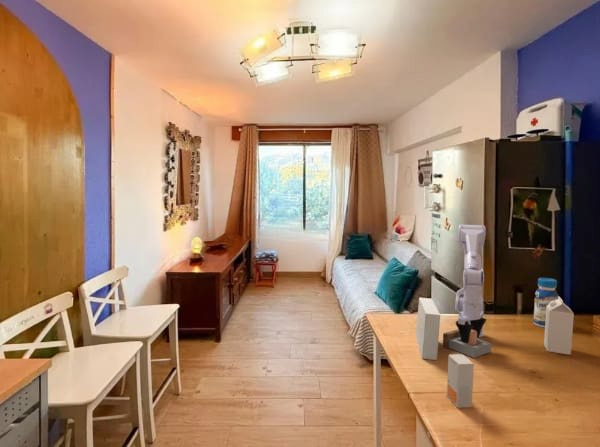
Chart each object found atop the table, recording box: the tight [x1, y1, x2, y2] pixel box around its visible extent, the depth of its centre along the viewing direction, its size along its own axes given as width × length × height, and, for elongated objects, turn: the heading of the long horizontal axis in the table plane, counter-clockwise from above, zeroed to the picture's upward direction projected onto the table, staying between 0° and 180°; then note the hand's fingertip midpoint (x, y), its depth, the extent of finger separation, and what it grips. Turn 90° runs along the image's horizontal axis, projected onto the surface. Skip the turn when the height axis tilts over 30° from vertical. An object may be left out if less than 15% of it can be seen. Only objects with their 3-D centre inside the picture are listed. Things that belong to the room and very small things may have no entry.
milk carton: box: [543, 295, 575, 356], centre depth 137 cm, size 7×7×19 cm
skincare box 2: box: [446, 353, 475, 409], centre depth 102 cm, size 6×4×12 cm
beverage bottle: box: [533, 277, 559, 328], centre depth 163 cm, size 8×8×20 cm
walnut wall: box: [442, 328, 460, 349], centre depth 141 cm, size 12×2×5 cm, turn 121°
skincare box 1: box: [415, 297, 441, 361], centre depth 137 cm, size 21×5×16 cm, turn 168°
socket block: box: [448, 336, 493, 359], centre depth 136 cm, size 10×10×3 cm
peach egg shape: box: [465, 330, 477, 346], centre depth 136 cm, size 4×4×7 cm
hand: (470, 339), depth 136 cm, fingers open, 7 cm apart
